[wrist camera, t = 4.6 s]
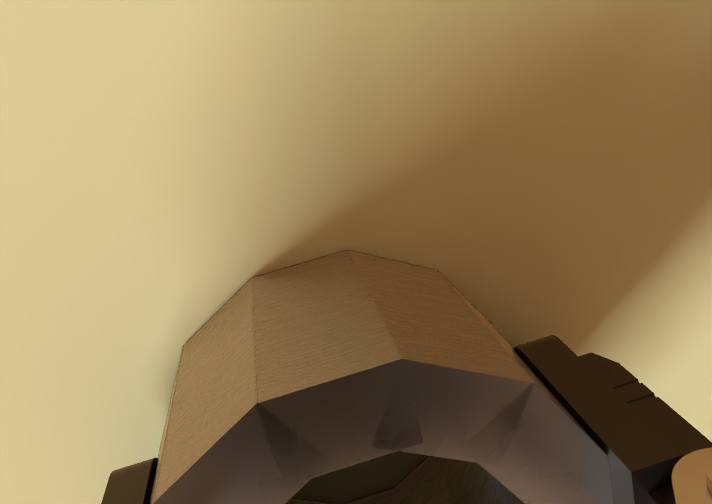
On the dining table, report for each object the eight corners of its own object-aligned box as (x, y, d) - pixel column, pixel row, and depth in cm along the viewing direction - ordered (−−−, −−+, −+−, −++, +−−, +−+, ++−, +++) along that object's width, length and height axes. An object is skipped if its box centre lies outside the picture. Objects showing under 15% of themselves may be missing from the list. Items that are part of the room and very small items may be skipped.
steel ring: (474, 212, 11) (592, 299, 7) (525, 493, 13) (636, 669, 10) (116, 316, 11) (46, 466, 7) (232, 590, 13) (227, 817, 9)
